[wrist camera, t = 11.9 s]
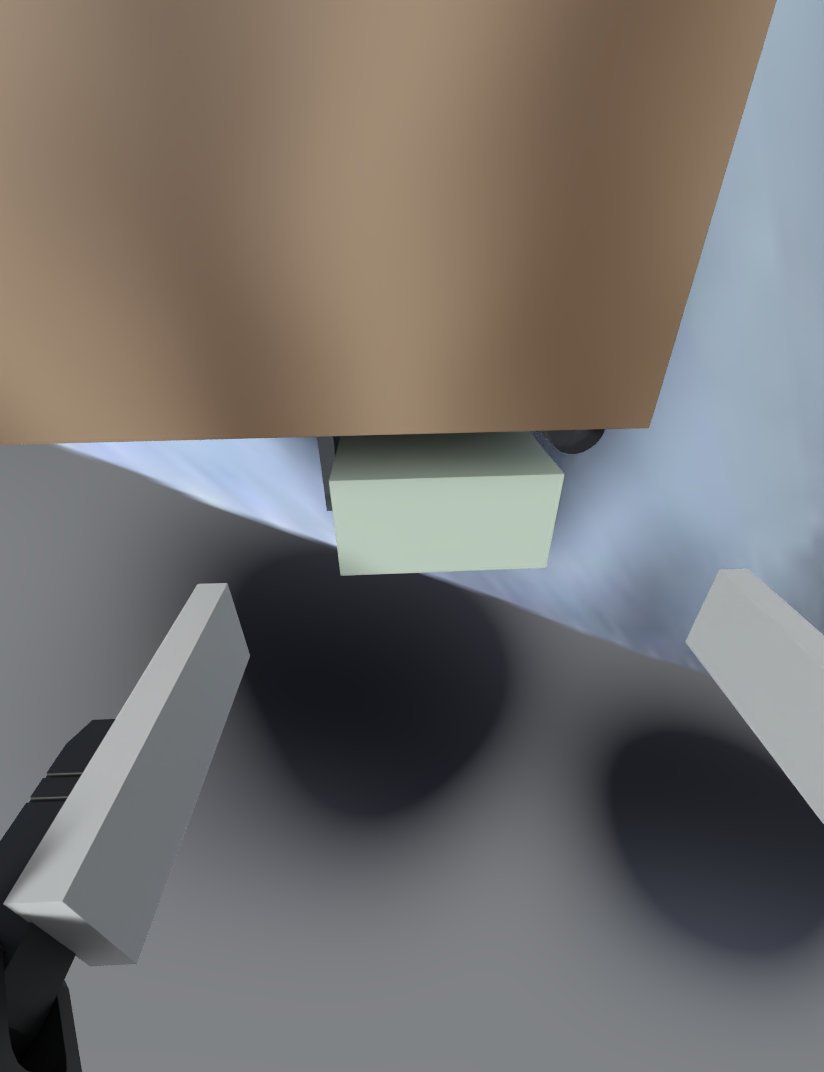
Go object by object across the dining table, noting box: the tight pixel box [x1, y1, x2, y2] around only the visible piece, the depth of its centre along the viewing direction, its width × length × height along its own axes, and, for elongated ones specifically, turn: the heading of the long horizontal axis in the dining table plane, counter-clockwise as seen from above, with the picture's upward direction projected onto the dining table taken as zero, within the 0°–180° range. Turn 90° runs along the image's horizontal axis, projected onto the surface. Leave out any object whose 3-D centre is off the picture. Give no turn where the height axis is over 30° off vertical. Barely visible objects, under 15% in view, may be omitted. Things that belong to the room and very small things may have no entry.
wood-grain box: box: [0, 0, 777, 445], centre depth 12 cm, size 16×12×15 cm
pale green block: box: [329, 431, 565, 575], centre depth 20 cm, size 8×5×11 cm, turn 91°
